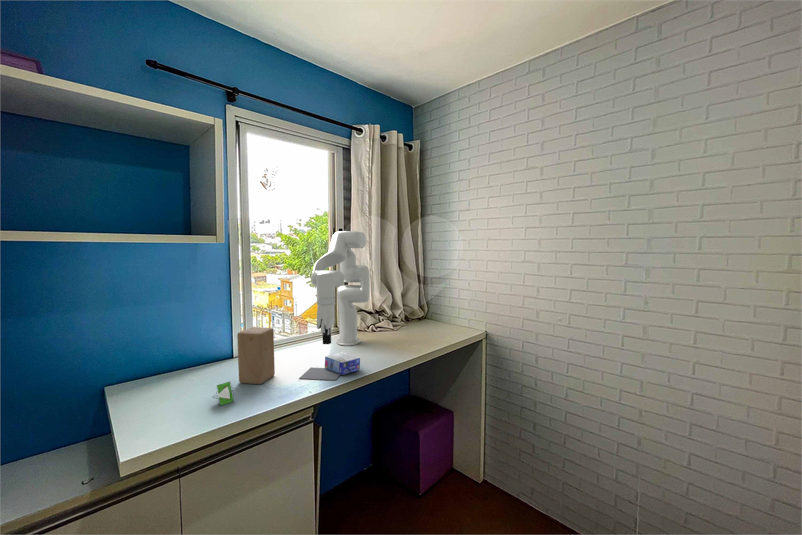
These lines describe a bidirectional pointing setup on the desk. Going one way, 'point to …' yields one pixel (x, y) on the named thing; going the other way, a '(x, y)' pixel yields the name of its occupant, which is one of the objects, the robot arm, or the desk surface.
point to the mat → (320, 374)
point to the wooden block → (256, 355)
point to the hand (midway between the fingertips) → (327, 343)
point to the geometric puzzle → (225, 393)
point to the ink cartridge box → (342, 363)
